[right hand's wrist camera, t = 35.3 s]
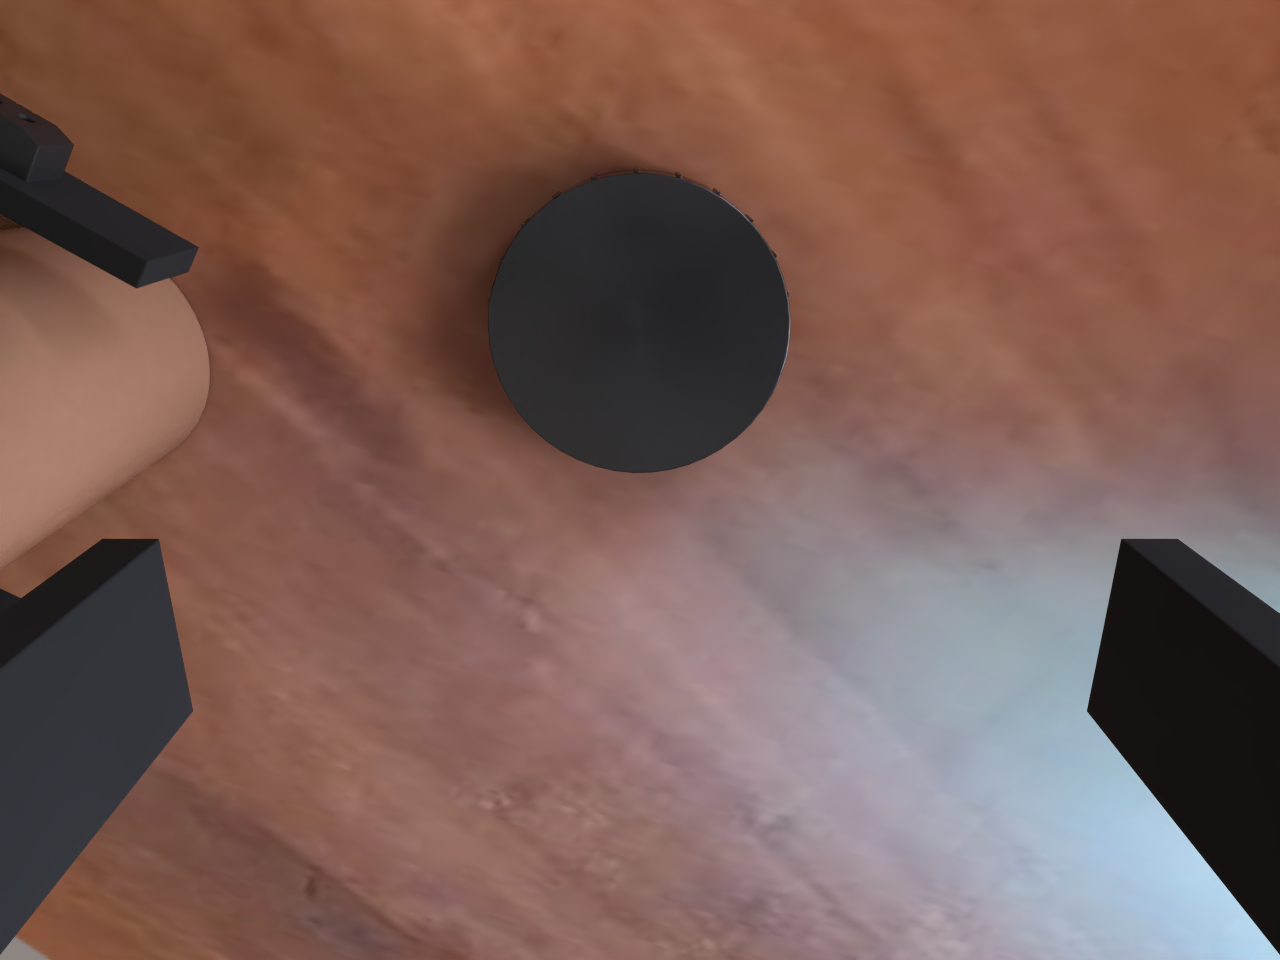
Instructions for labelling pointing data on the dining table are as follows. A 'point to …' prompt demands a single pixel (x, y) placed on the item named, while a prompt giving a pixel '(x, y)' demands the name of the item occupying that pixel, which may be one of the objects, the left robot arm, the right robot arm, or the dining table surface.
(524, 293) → the lid
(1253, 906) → the right robot arm
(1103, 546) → the dining table surface
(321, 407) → the dining table surface
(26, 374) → the jar
